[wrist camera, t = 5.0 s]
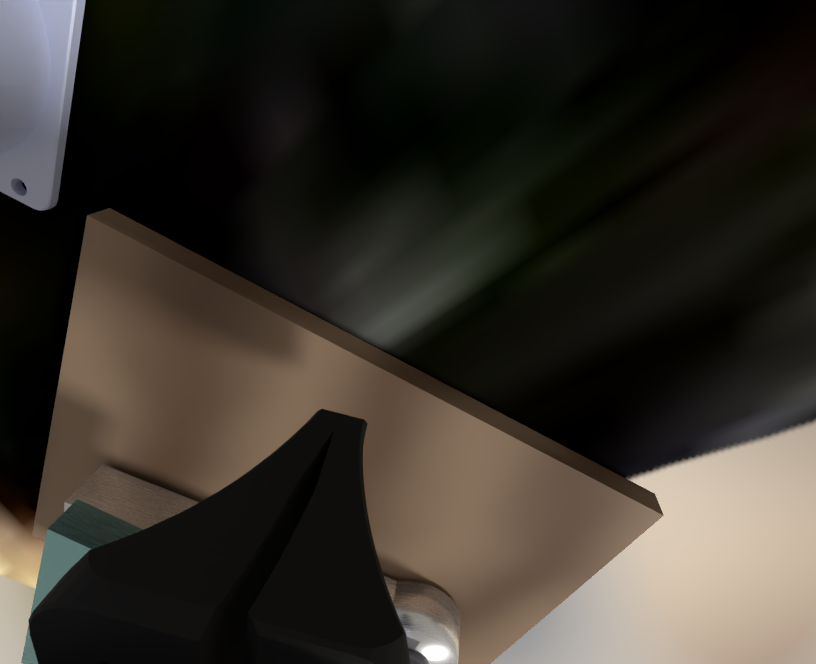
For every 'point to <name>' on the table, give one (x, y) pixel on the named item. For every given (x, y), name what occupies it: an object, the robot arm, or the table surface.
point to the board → (293, 407)
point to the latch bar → (414, 602)
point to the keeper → (72, 549)
